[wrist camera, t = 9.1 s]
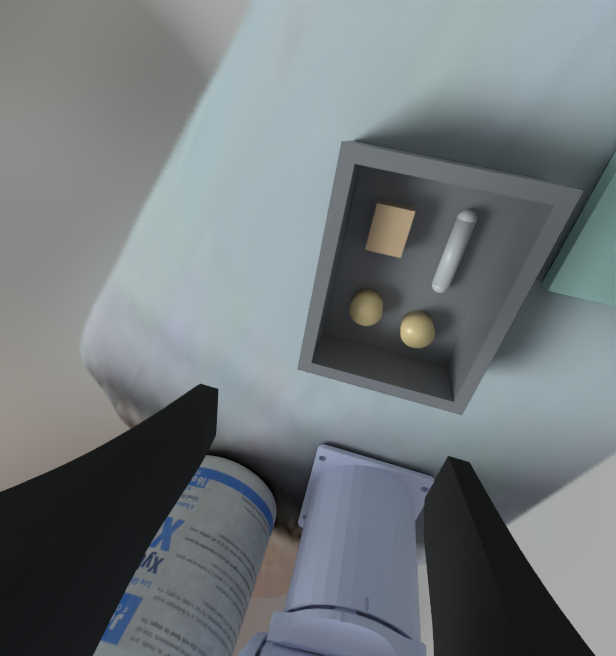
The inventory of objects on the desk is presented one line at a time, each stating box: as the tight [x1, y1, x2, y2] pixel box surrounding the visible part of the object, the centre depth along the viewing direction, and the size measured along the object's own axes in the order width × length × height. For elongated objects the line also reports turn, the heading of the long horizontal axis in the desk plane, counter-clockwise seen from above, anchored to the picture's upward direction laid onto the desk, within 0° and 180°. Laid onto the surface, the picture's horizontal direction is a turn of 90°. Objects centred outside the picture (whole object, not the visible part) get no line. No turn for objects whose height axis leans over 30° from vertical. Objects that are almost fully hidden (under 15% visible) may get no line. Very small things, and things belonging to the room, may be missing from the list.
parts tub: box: [298, 141, 583, 415], centre depth 16 cm, size 10×8×4 cm
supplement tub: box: [93, 455, 276, 656], centre depth 23 cm, size 10×10×15 cm
